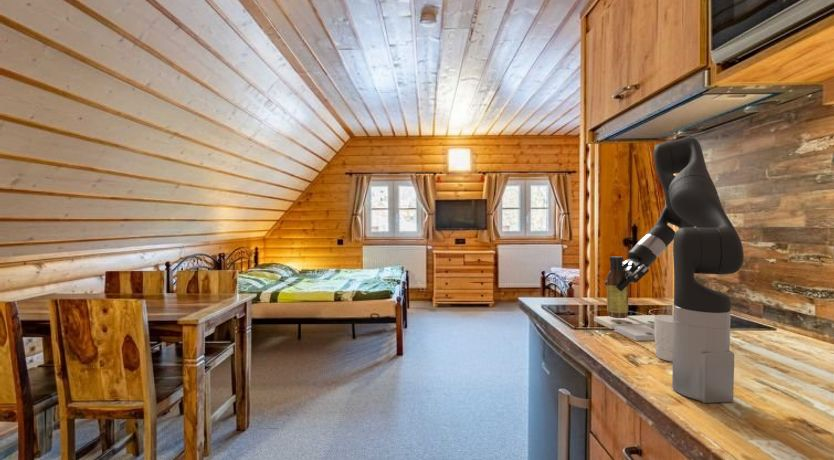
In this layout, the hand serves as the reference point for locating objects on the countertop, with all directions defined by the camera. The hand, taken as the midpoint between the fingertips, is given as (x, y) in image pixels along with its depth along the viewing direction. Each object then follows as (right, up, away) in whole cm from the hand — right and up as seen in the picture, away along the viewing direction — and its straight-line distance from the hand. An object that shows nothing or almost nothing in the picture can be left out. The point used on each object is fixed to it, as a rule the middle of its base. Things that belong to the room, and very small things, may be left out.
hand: (612, 287), depth 129 cm
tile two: (+2, -12, +1) cm, 13 cm away
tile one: (+3, -13, -11) cm, 17 cm away
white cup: (-1, -14, -31) cm, 34 cm away
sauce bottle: (+2, -10, 0) cm, 10 cm away
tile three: (+13, -12, +2) cm, 18 cm away
